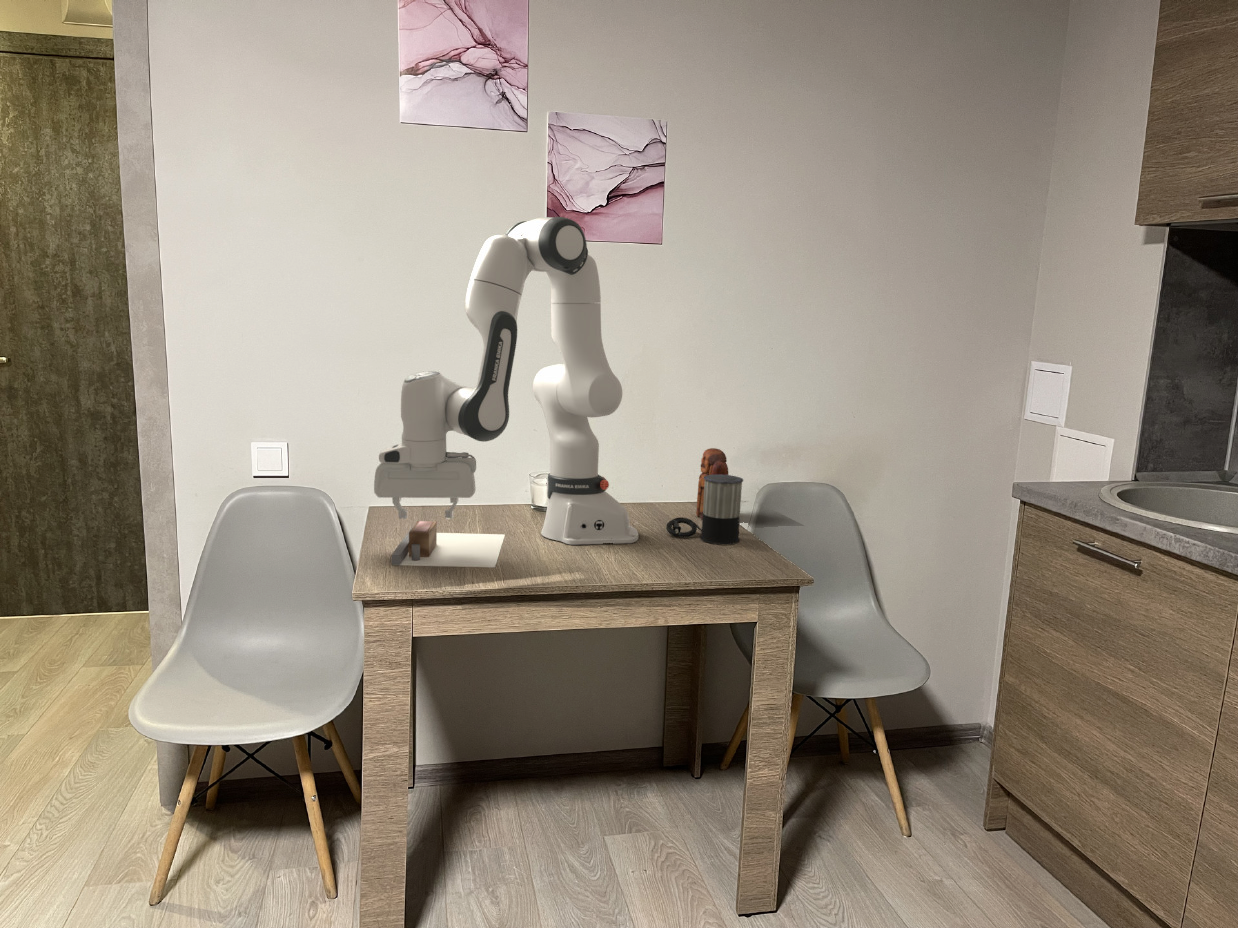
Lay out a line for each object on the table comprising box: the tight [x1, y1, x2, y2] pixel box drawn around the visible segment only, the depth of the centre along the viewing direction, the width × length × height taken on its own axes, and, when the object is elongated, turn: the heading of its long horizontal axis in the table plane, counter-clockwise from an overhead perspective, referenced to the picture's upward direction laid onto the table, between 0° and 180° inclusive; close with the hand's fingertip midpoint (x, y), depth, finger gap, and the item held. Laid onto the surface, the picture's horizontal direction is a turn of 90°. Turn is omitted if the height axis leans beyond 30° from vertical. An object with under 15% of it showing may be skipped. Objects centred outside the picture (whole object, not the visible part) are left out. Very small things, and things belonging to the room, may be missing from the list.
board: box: [390, 522, 506, 568], centre depth 188 cm, size 20×26×4 cm
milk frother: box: [666, 474, 744, 545], centre depth 209 cm, size 14×16×15 cm
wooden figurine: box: [695, 447, 729, 521], centre depth 230 cm, size 12×6×18 cm, turn 14°
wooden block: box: [408, 520, 438, 557], centre depth 185 cm, size 4×10×5 cm, turn 3°
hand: (426, 518), depth 185 cm, fingers open, 8 cm apart
